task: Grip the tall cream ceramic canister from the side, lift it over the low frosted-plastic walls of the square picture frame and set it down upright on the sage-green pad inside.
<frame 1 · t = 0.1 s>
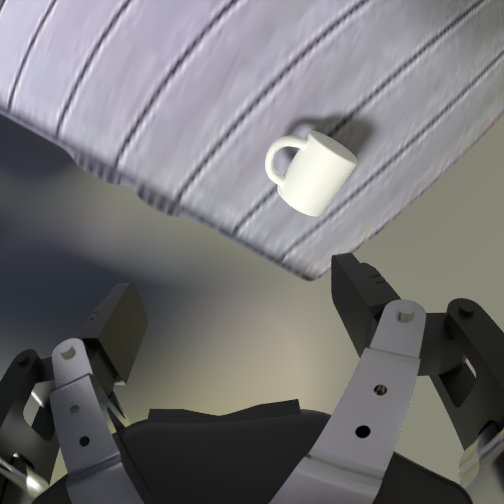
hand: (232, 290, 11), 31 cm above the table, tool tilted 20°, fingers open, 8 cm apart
mug: (298, 155, 41), on the table
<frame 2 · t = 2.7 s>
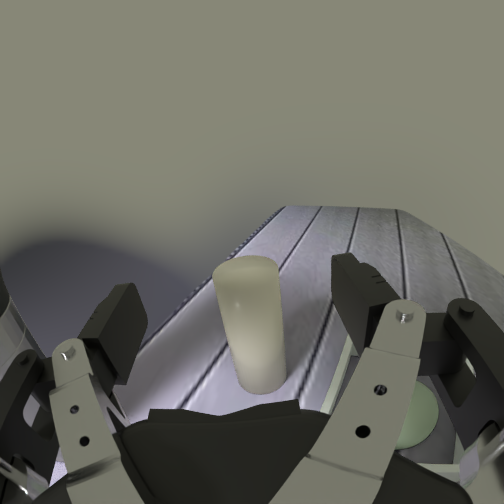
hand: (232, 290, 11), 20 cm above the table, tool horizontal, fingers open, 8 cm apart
pad: (398, 412, 22), resting in square picture frame
square picture frame: (398, 412, 22), on the table
canister: (262, 375, 30), on the table
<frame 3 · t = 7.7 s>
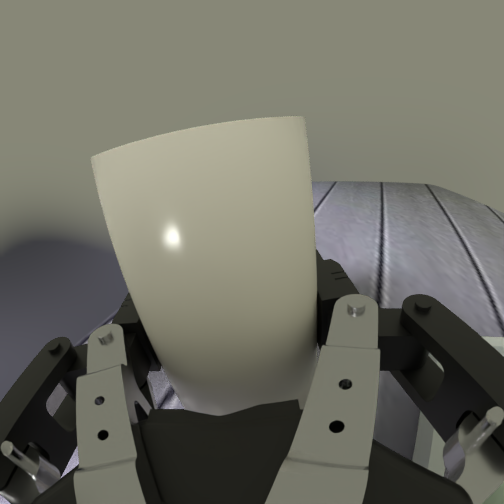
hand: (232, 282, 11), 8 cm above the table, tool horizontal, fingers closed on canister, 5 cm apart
canister: (260, 432, 13), on the table, touching gripper
when the fingers open (10 cm above the table, at t = 12.8 s): canister drops 1 cm, resting on pad.
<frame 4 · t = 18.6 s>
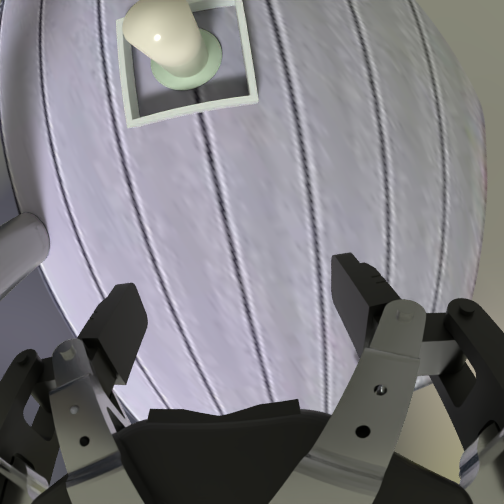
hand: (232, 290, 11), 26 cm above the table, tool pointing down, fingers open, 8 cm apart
pad: (185, 58, 28), resting in square picture frame
square picture frame: (185, 58, 28), on the table
canister: (185, 57, 27), resting on pad
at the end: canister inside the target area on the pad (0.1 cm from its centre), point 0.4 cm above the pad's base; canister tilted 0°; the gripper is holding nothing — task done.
